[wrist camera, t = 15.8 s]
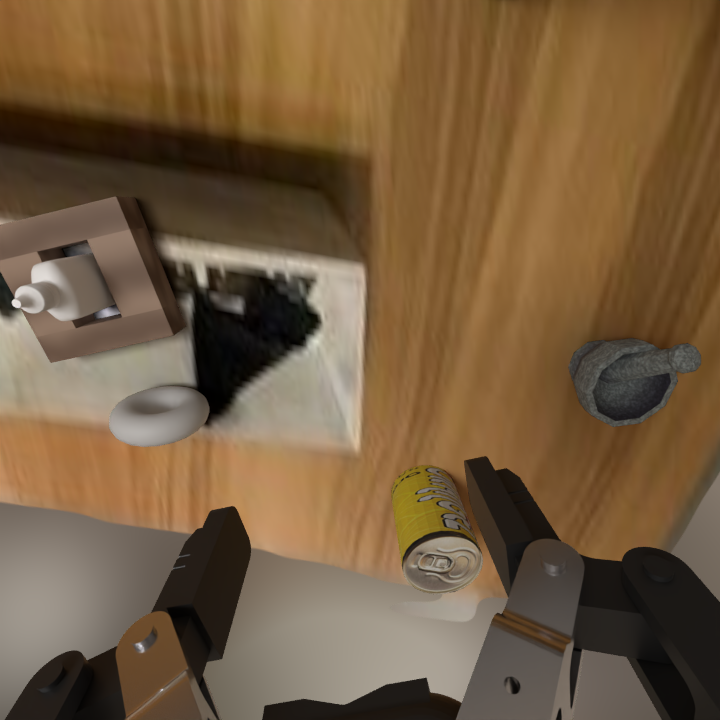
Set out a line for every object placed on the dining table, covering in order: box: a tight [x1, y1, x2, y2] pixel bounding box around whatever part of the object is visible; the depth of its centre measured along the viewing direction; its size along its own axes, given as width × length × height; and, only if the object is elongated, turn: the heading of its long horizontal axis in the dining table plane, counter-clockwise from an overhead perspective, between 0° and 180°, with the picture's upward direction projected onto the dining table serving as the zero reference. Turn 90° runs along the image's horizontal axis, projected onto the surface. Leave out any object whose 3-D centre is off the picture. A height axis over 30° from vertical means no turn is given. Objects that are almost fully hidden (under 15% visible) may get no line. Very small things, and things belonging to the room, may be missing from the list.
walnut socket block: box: [0, 197, 186, 363], centre depth 41 cm, size 14×14×4 cm
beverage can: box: [391, 466, 483, 594], centre depth 49 cm, size 9×9×12 cm
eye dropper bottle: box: [12, 253, 116, 321], centre depth 37 cm, size 4×6×12 cm
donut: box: [109, 386, 209, 447], centre depth 43 cm, size 10×3×10 cm, turn 87°
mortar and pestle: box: [568, 338, 701, 427], centre depth 42 cm, size 11×9×12 cm
